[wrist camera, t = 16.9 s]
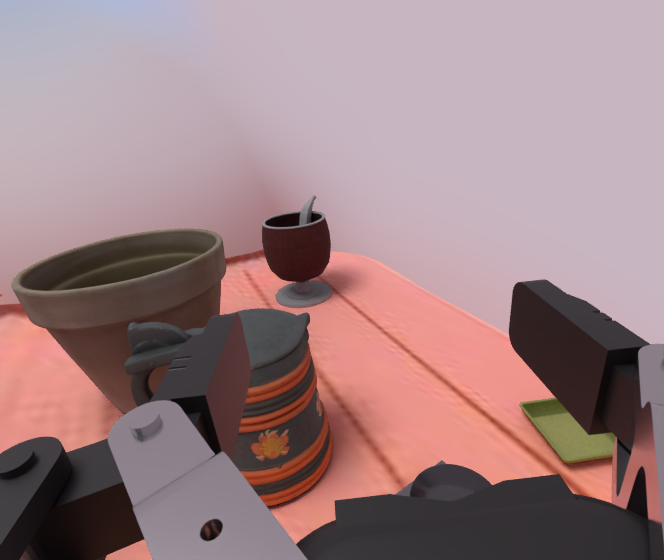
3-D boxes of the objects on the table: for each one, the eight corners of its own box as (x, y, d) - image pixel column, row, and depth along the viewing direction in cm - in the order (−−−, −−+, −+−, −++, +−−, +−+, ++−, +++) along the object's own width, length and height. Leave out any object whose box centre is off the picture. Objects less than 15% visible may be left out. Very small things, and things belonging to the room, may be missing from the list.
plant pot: (193, 326, 76) (163, 219, 67) (281, 365, 61) (258, 234, 52) (51, 401, 58) (-15, 270, 49) (127, 480, 43) (53, 313, 35)
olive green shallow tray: (515, 415, 47) (517, 402, 46) (583, 405, 48) (586, 392, 47) (561, 476, 39) (564, 461, 38) (642, 463, 40) (647, 449, 39)
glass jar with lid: (455, 672, 25) (461, 571, 21) (396, 590, 30) (391, 494, 26) (509, 611, 28) (525, 510, 24) (447, 545, 33) (451, 450, 28)
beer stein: (166, 557, 35) (91, 382, 27) (167, 444, 48) (115, 302, 40) (353, 477, 41) (336, 313, 33) (309, 395, 54) (289, 263, 46)
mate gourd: (313, 314, 75) (300, 215, 67) (259, 303, 82) (241, 212, 74) (350, 283, 87) (342, 195, 79) (300, 276, 94) (288, 194, 86)
